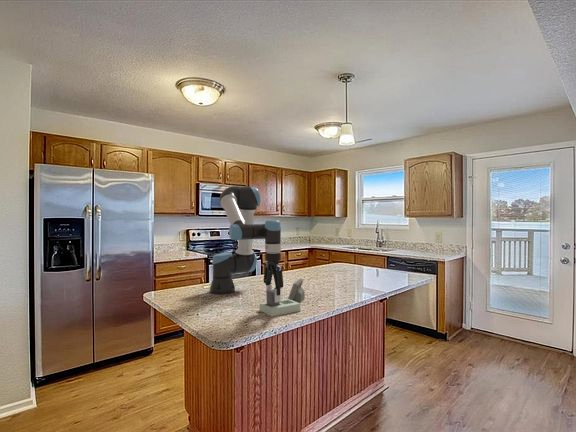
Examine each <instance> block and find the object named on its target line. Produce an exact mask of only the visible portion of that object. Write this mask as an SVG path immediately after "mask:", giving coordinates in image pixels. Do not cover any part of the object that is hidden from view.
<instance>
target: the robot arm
mask: <svg viewBox="0 0 576 432" xmlns="http://www.w3.org/2000/svg"><path fill="white" fill-rule="evenodd" d="M219 205H220V206H221V208H222V209H223V210H224V212H225V214H226V217H227V220H228V222H229V224H230V226H229V227H228V235H229V238H230V239H231V240H232V241H237V243H238V244H237V249H236V250H235V253H234V254H233V253H232V252H231V251H230V252H229V251H228V252H221V253H217V254H214V255H213V256H212V263H211V264H212V280H211V283H210V287H209V293H210V294H215V295H226V294H231V293H235V291H236V285H235V283H234V280H233V274H244V273H251V272H254V271H255V269H256V268H257V262H258V260H257V254H256V253H255V251H254V250H253V240H264V244H265V245H264V248H265V249H264V251H265V253H264V260H265V261H266V262H265V263H263V267H264V268H263V269H264V270H263V283H264V284H265V293H266V296H265V299H266V300H267V291H268V290H270V289H272V290H273V285H272V284H273V283H272V279H273V280H274V281H273V282H274V286H275V287H274V289H275V303H276V302H280V299H281V288H284V276H283V275H284V274H283V269H284V267H283V266H282V265H280V263H279V262H280V261H281V260H282V259H281V258H282V253H281V252H282V249H281V248H282V243H281V239H282V238H281V236H282V235H281V234H282V233H281V232H282V230H281V229H282V227H281V221H280V220H275V219H273V220H272V219H271V220H265V221H264V223H259V224H258V223H256V224H255V223H254V219H255V217H254V216H255V212H256V211H257V210H258V209H257V207H260V205H261V193H260V191H259V189H258V187H254V186H235V185H234V186H233V185H232V186H229V187H227V188H225V189H223V191H222V192H221V193H220V196H219Z"/></svg>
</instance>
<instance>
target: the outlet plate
mask: <svg viewBox="0 0 576 432" xmlns="http://www.w3.org/2000/svg"><path fill="white" fill-rule="evenodd" d="M259 311H260V312H262V313H264V314H266V315H268V316H270V317H276V316H281V315H286V314H292V313H296V312H300V311H301V302H295V301H293V300H290V299H288V298H282V299H281V298H280V305H279V306H273V307H270V306H268V305H267V301H263V302H259Z"/></svg>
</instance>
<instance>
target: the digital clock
mask: <svg viewBox="0 0 576 432" xmlns="http://www.w3.org/2000/svg"><path fill="white" fill-rule="evenodd" d="M303 283H304V280H303V278H298V279H297V280H296V281H295V282H294V283H293V284H292V287H291V289H290V292H289V295H288V298H287V299H290V300H293V301H295V302H298V303H302V302H303V300H305V296H306V295H305V289H304V288H303V287H302V285H303Z"/></svg>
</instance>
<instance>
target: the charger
mask: <svg viewBox="0 0 576 432" xmlns="http://www.w3.org/2000/svg"><path fill="white" fill-rule="evenodd" d="M266 302H267V305H268V306H270V307H273V306H279V305H280V302H276V303H275V288H272V289H270V290H268V291H267V299H266Z"/></svg>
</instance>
